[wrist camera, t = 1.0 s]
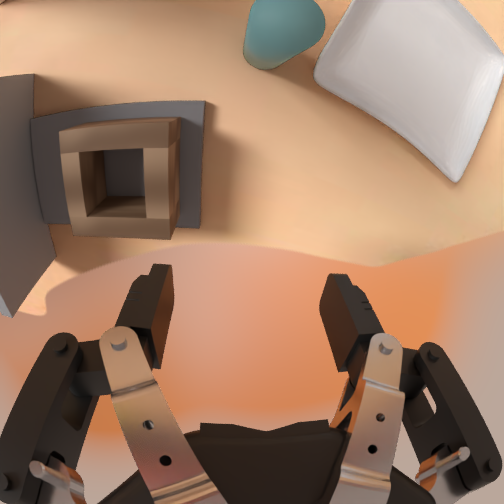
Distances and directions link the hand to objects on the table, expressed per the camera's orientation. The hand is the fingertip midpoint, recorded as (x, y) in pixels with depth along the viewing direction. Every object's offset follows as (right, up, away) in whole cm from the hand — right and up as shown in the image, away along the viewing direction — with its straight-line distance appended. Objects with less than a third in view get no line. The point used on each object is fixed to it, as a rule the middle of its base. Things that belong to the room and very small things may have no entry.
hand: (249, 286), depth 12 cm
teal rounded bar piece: (+1, +20, +9) cm, 22 cm away
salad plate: (+19, +23, +9) cm, 31 cm away
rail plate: (-15, +10, +14) cm, 23 cm away
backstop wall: (-26, +11, +13) cm, 31 cm away
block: (-12, +10, +13) cm, 20 cm away
